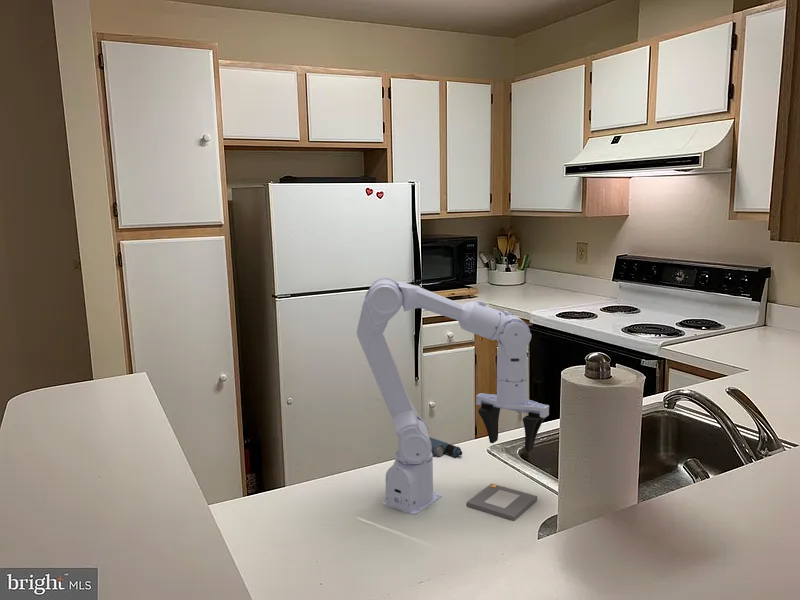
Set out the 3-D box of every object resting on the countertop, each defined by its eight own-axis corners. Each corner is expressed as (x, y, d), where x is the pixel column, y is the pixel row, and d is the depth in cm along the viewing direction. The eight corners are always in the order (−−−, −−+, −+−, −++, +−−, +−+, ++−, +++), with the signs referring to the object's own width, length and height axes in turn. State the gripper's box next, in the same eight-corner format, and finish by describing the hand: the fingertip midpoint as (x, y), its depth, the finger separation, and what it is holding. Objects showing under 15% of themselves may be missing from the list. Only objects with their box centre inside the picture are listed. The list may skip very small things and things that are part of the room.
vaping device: (426, 443, 151) (464, 457, 143) (411, 449, 147) (449, 463, 139) (426, 433, 151) (464, 446, 142) (411, 439, 147) (449, 452, 139)
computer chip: (513, 520, 113) (513, 515, 113) (466, 506, 119) (466, 501, 119) (537, 500, 121) (537, 495, 121) (491, 487, 127) (491, 482, 127)
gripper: (556, 379, 118) (554, 447, 120) (488, 368, 127) (488, 432, 129) (540, 387, 113) (539, 459, 115) (471, 376, 121) (470, 442, 123)
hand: (511, 445), depth 121 cm, fingers open, 7 cm apart
